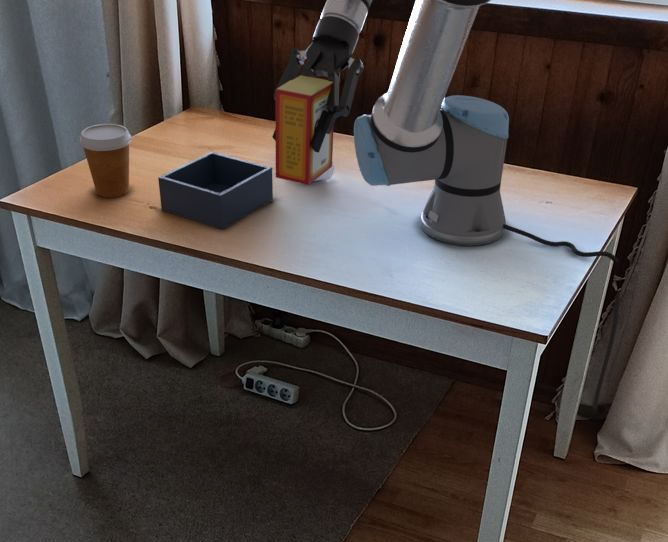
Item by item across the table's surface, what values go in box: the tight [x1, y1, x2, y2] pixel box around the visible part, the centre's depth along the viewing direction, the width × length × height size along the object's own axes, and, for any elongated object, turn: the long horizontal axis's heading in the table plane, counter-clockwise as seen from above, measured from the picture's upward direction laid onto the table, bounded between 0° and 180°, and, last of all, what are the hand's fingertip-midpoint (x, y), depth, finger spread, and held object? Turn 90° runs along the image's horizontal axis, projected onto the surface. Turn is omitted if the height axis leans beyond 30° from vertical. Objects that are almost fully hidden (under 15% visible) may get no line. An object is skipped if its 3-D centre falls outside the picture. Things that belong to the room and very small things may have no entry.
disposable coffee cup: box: [79, 123, 132, 198], centre depth 164 cm, size 10×10×12 cm
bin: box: [157, 151, 274, 230], centre depth 161 cm, size 15×16×7 cm
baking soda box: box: [274, 74, 335, 186], centre depth 149 cm, size 10×6×16 cm
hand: (295, 144), depth 147 cm, fingers closed on baking soda box, 7 cm apart
